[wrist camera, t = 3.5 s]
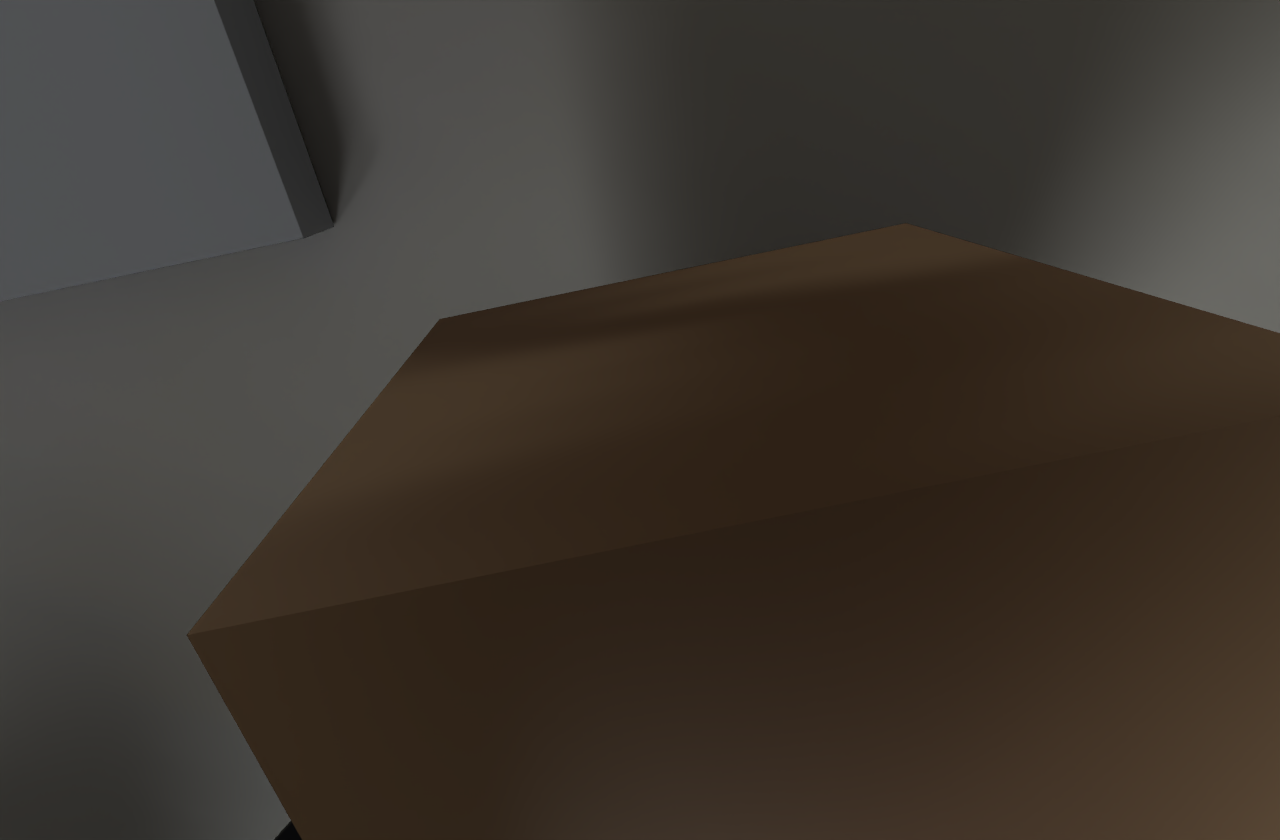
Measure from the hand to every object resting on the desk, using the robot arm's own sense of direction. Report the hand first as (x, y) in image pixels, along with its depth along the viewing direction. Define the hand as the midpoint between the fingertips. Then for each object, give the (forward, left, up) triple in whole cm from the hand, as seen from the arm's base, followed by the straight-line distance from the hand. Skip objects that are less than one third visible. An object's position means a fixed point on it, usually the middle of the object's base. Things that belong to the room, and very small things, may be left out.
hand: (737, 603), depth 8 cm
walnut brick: (0, 0, -1) cm, 1 cm away
